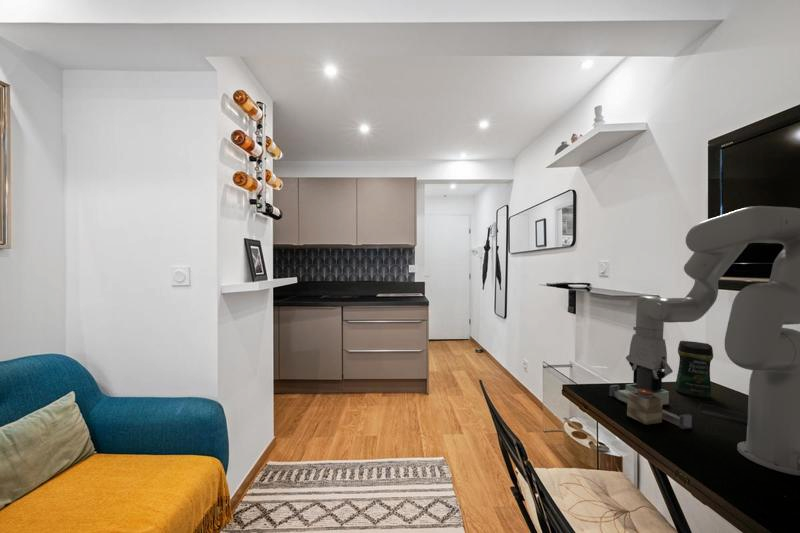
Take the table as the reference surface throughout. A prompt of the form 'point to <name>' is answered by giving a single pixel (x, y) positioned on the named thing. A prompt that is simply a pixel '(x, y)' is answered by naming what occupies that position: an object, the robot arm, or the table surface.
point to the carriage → (632, 388)
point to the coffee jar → (694, 369)
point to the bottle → (644, 378)
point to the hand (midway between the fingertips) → (646, 385)
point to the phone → (723, 413)
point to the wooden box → (644, 408)
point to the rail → (681, 421)
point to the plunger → (645, 393)
